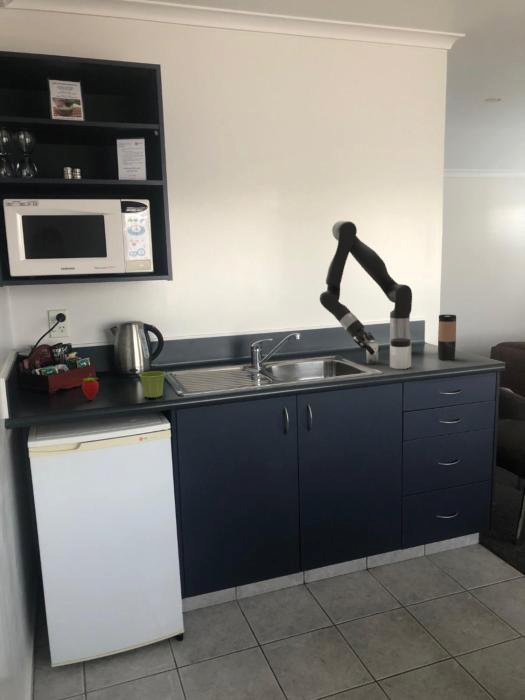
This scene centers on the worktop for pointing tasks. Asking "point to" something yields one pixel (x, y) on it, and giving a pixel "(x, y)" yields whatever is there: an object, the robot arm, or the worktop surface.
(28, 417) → the worktop surface
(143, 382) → the plant pot
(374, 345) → the canister
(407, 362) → the jar
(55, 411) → the worktop surface
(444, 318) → the travel mug
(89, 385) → the strawberry
